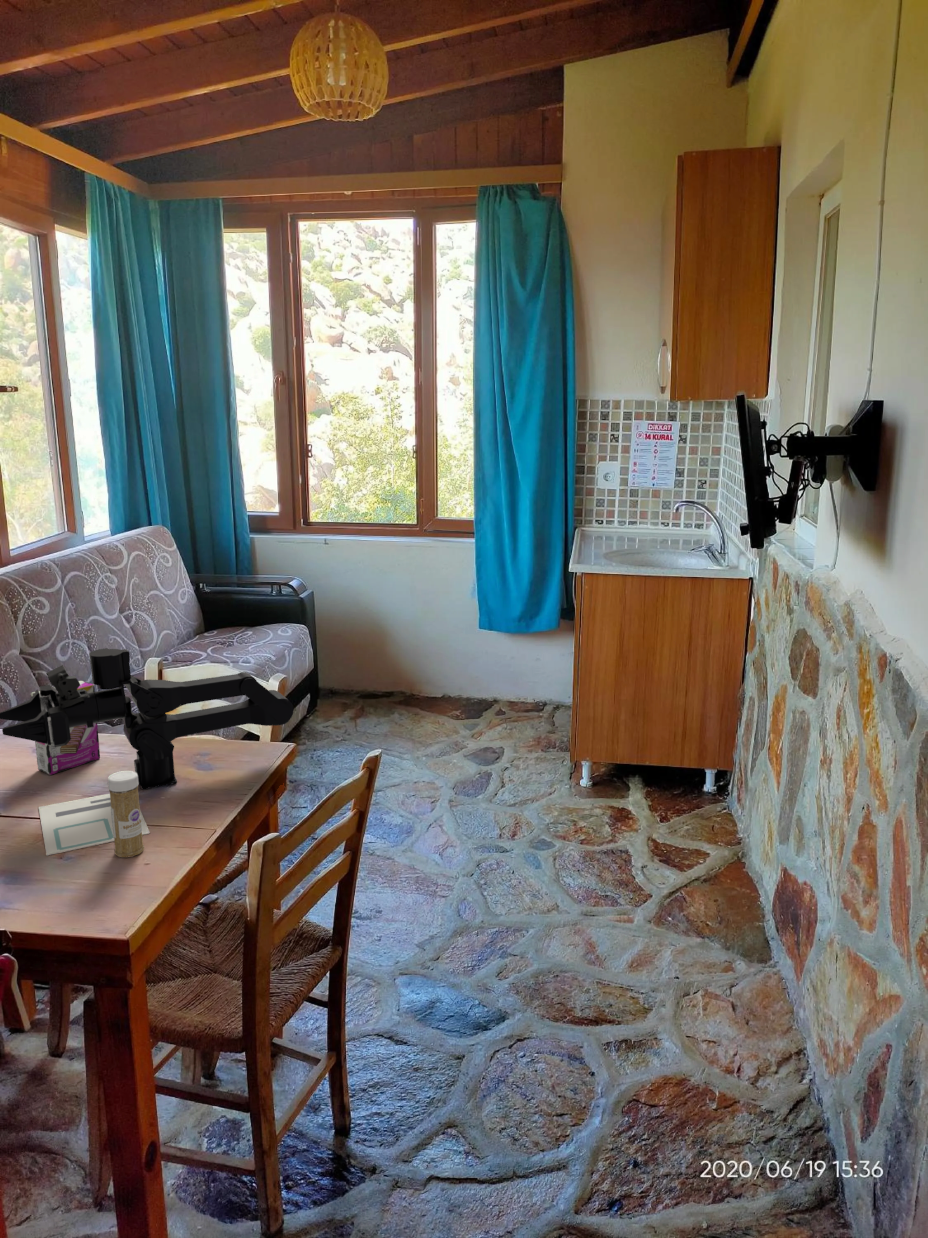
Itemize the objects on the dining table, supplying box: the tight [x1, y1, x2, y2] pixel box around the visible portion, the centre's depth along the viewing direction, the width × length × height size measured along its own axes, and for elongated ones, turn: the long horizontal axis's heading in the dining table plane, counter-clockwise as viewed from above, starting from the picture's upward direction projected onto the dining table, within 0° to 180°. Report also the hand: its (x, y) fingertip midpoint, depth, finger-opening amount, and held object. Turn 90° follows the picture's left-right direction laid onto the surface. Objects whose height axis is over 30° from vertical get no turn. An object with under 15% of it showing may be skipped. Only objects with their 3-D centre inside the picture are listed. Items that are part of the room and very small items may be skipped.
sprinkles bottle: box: [107, 770, 145, 858], centre depth 141 cm, size 5×5×13 cm
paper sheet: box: [38, 793, 151, 857], centre depth 153 cm, size 16×20×1 cm
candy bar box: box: [30, 680, 101, 776], centre depth 175 cm, size 11×5×16 cm, turn 144°
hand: (0, 723), depth 153 cm, fingers open, 9 cm apart
